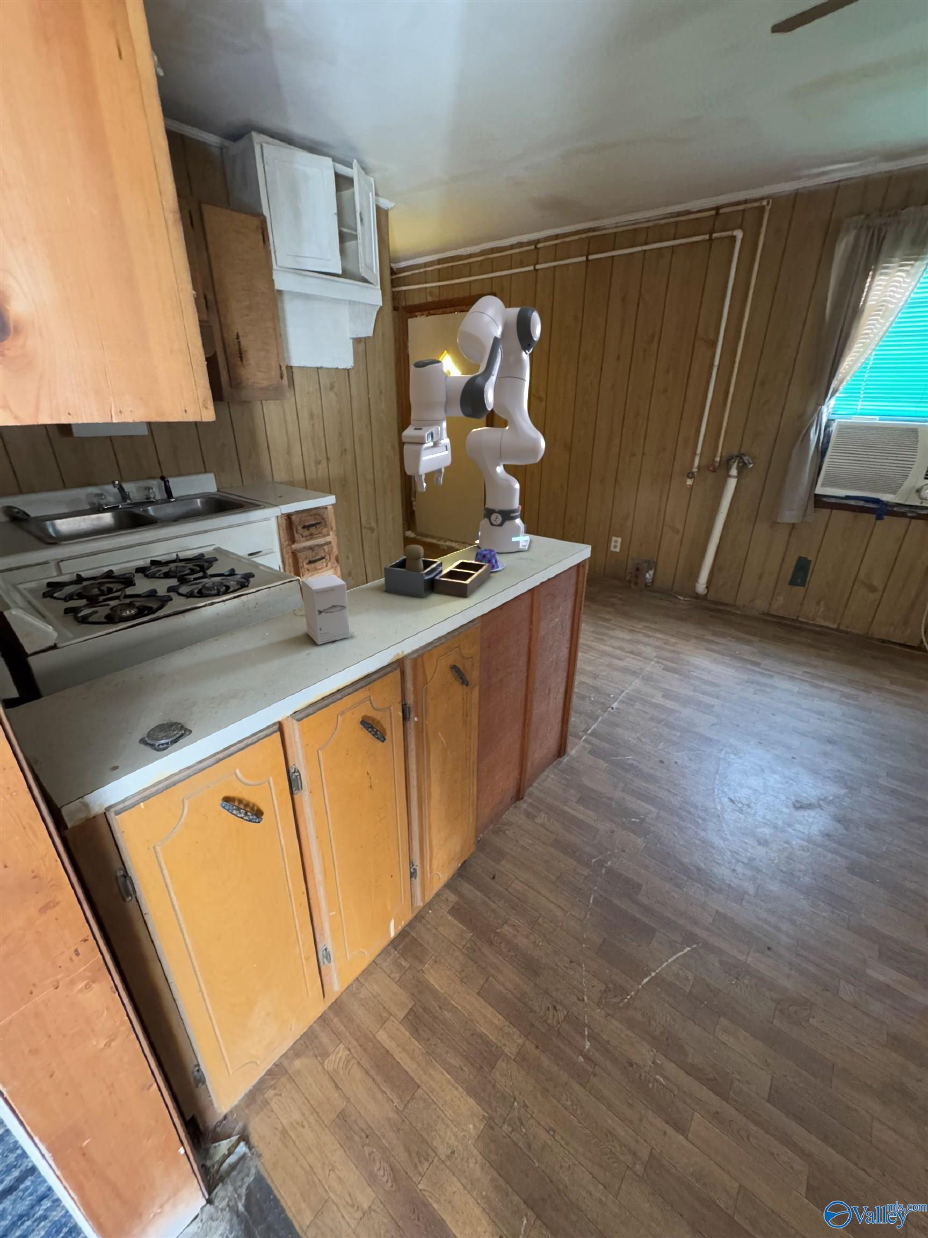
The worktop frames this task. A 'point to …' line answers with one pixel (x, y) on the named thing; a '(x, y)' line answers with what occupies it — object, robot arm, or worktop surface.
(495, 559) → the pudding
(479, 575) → the divided tray
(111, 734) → the worktop surface
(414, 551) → the cork
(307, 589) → the white packaging box
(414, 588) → the grey open box
